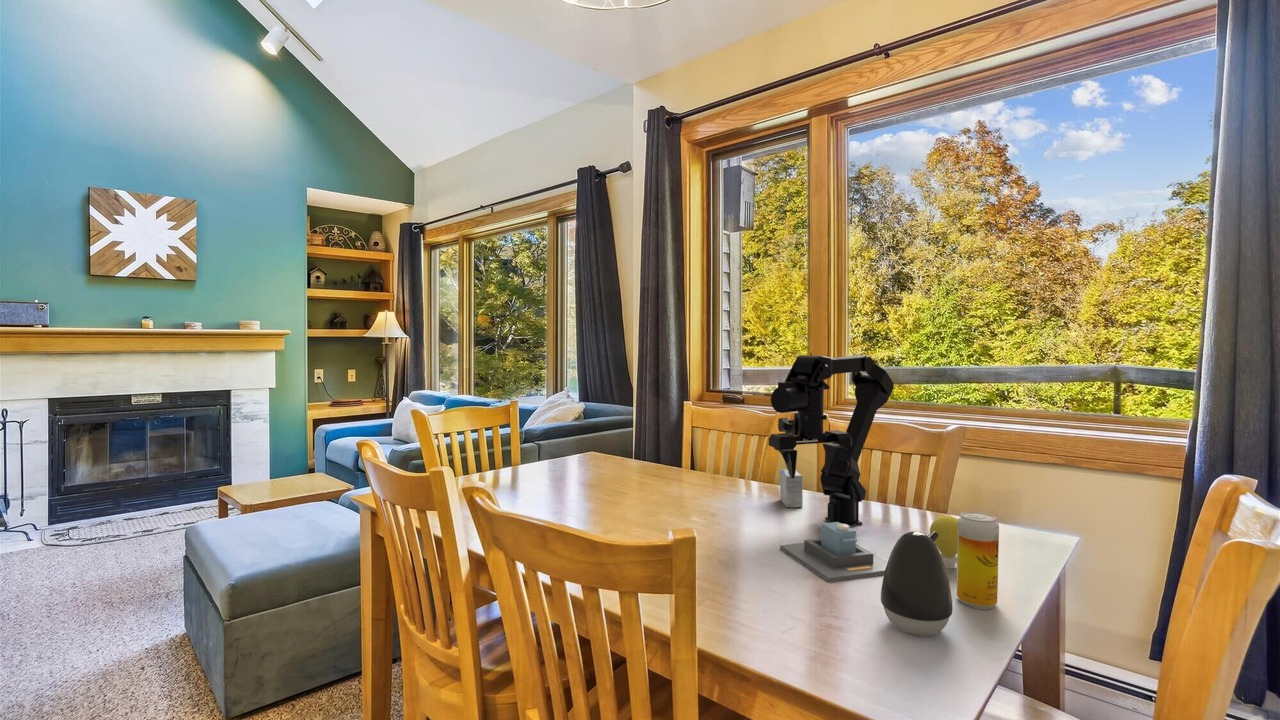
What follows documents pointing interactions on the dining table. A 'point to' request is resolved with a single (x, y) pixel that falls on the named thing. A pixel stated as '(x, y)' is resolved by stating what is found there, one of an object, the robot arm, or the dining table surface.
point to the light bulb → (946, 539)
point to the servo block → (838, 538)
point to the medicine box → (791, 489)
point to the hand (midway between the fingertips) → (809, 476)
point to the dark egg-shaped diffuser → (917, 586)
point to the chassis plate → (836, 561)
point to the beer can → (977, 560)
